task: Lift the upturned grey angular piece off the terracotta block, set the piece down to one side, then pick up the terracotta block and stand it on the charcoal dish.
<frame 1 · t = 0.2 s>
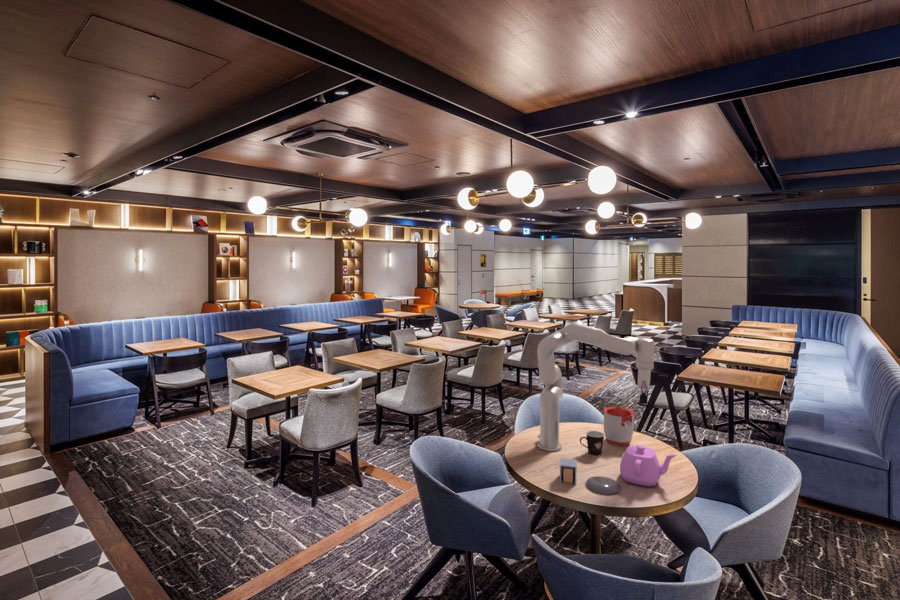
hand: (643, 400, 212), 31 cm above the table, tool pointing down, fingers open, 9 cm apart
red and white bucket: (618, 443, 240), on the table
coffee mug: (591, 453, 227), on the table
charcoal dish: (603, 486, 193), on the table
grey angular piece: (568, 479, 199), on the table
terracotta block: (568, 473, 199), in the grey angular piece
teapot: (641, 479, 199), on the table
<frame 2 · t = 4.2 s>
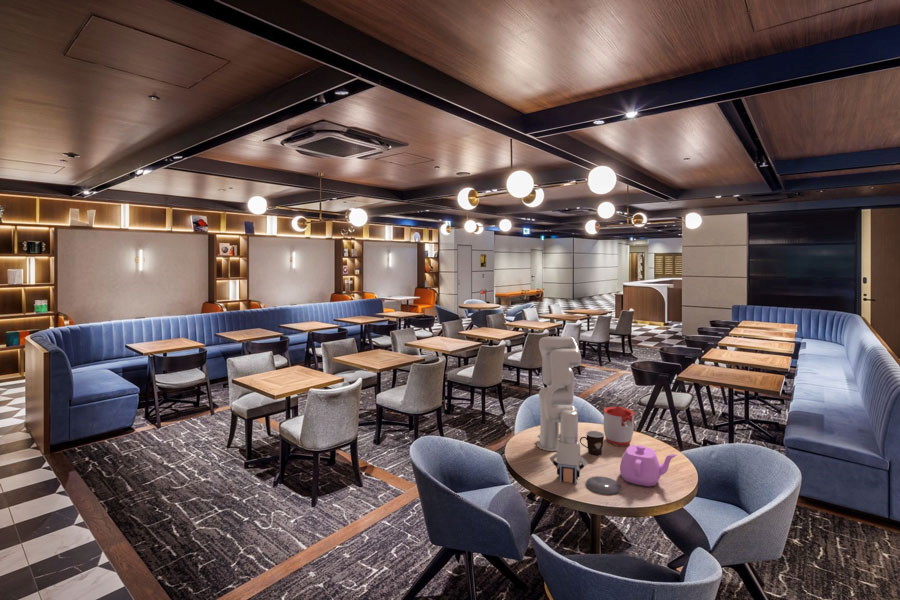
hand: (568, 476, 199), 1 cm above the table, tool pointing down, fingers closed on grey angular piece, 7 cm apart
grey angular piece: (568, 479, 199), on the table, touching gripper
everything else where it was.
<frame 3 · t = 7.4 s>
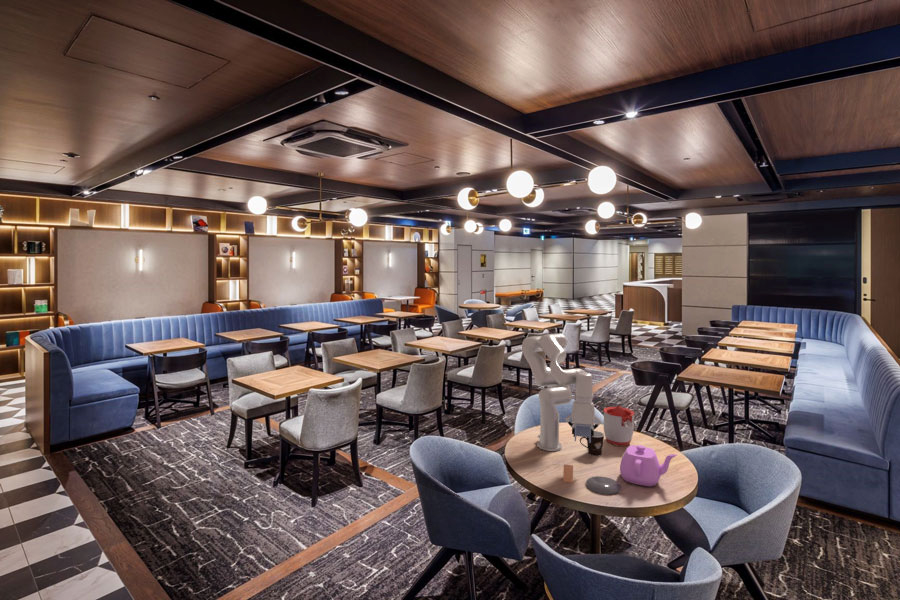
hand: (582, 436, 209), 16 cm above the table, tool pointing down, fingers closed on grey angular piece, 7 cm apart
grey angular piece: (582, 439, 209), point 14 cm above the table, touching gripper
everything else where it was.
when the fingers open (3 cm above the table, at t = 10.4 s): grey angular piece drops 1 cm, on the table.
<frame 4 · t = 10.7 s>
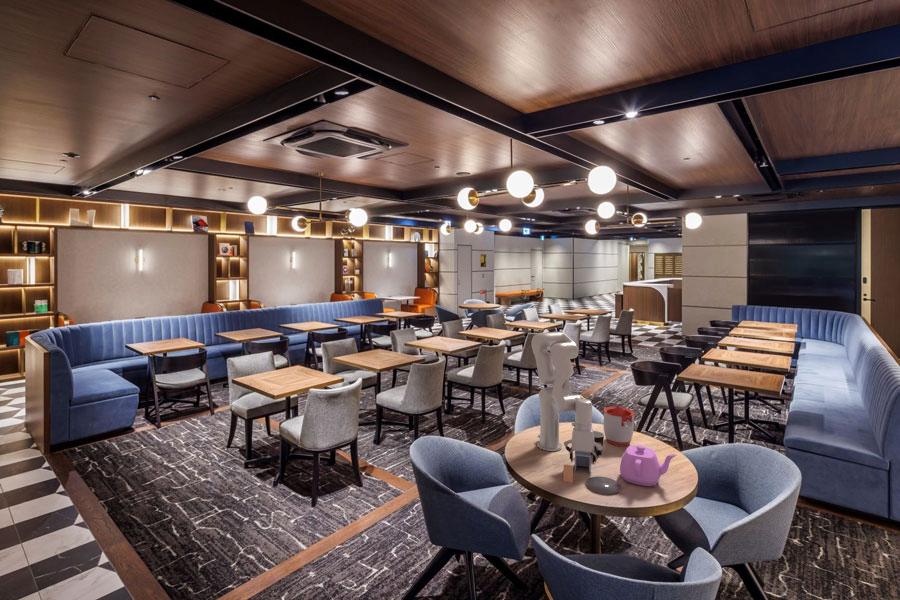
hand: (582, 461, 210), 3 cm above the table, tool pointing down, fingers open, 9 cm apart
grey angular piece: (582, 468, 210), on the table
everything else where it was.
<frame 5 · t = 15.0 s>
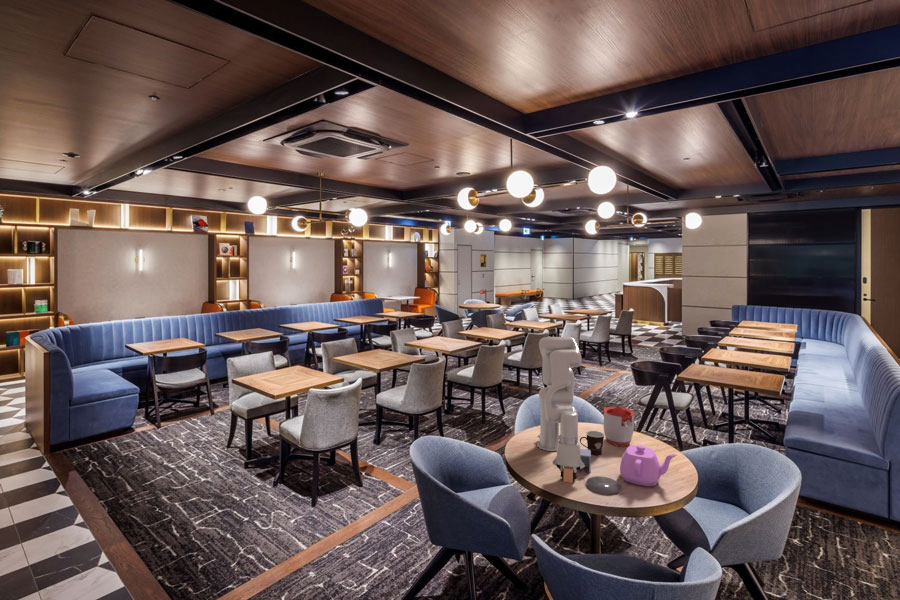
hand: (568, 479, 199), 0 cm above the table, tool pointing down, fingers closed on terracotta block, 3 cm apart
terracotta block: (568, 473, 199), on the table, touching gripper
everything else where it was.
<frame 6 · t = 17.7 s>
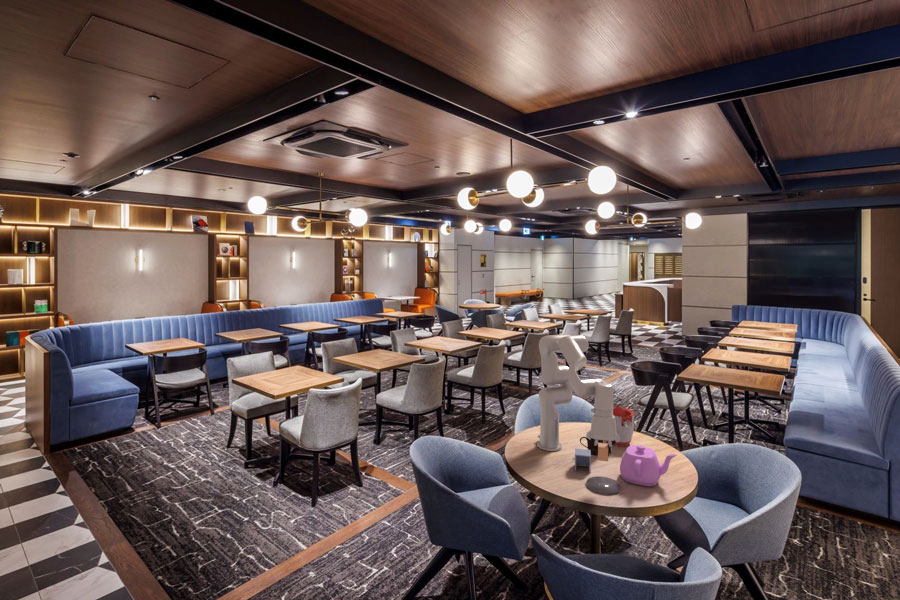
hand: (602, 453, 192), 15 cm above the table, tool pointing down, fingers closed on terracotta block, 3 cm apart
terracotta block: (602, 451, 192), point 15 cm above the table, tilted 10°, touching gripper
everything else where it was.
when the fingers open (3 cm above the table, at t = 20.4 s): terracotta block stays where it is, resting on charcoal dish.
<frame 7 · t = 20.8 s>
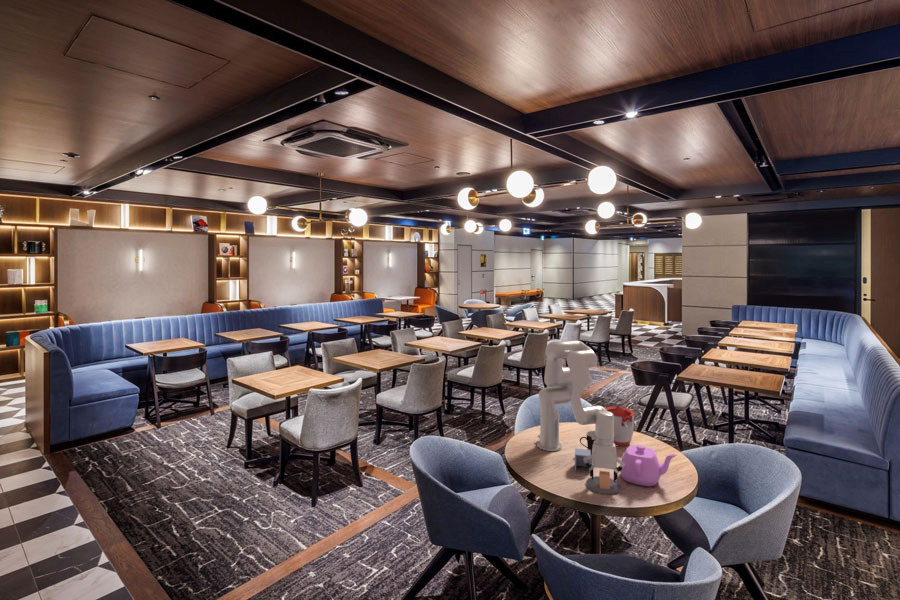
hand: (603, 479, 193), 3 cm above the table, tool pointing down, fingers open, 8 cm apart
terracotta block: (604, 479, 191), on the charcoal dish, point 4 cm above the table
everything else where it was.
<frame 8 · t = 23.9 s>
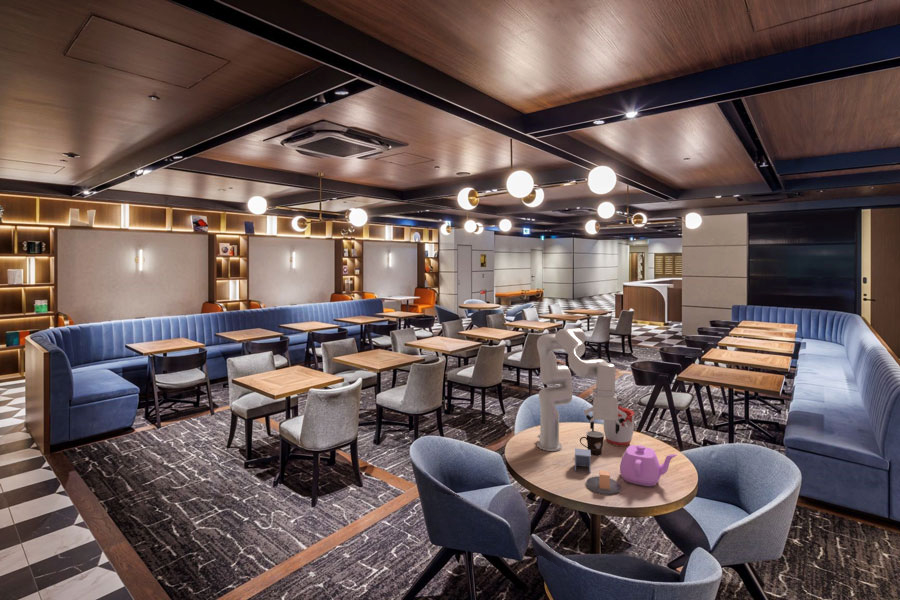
hand: (604, 431, 191), 24 cm above the table, tool pointing down, fingers open, 9 cm apart
nothing on the table moved.
at the end: terracotta block inside the target area on the charcoal dish (2.1 cm from its centre), point 4.0 cm above the charcoal dish's base; terracotta block tilted 0°; grey angular piece moved 14.3 cm from its start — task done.
